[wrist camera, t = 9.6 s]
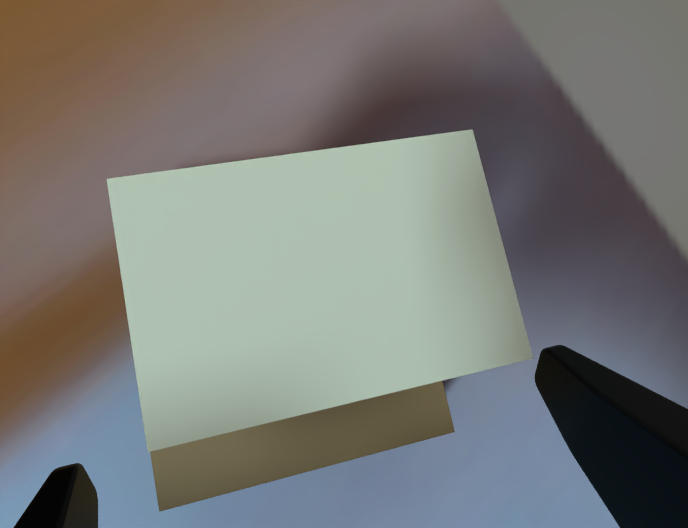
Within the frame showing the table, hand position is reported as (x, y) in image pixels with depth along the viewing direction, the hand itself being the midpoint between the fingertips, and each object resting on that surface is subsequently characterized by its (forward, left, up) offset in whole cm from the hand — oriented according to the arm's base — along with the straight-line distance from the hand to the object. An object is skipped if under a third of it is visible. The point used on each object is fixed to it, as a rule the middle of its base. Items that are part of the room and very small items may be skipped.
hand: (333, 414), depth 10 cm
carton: (+2, 0, -8) cm, 8 cm away
